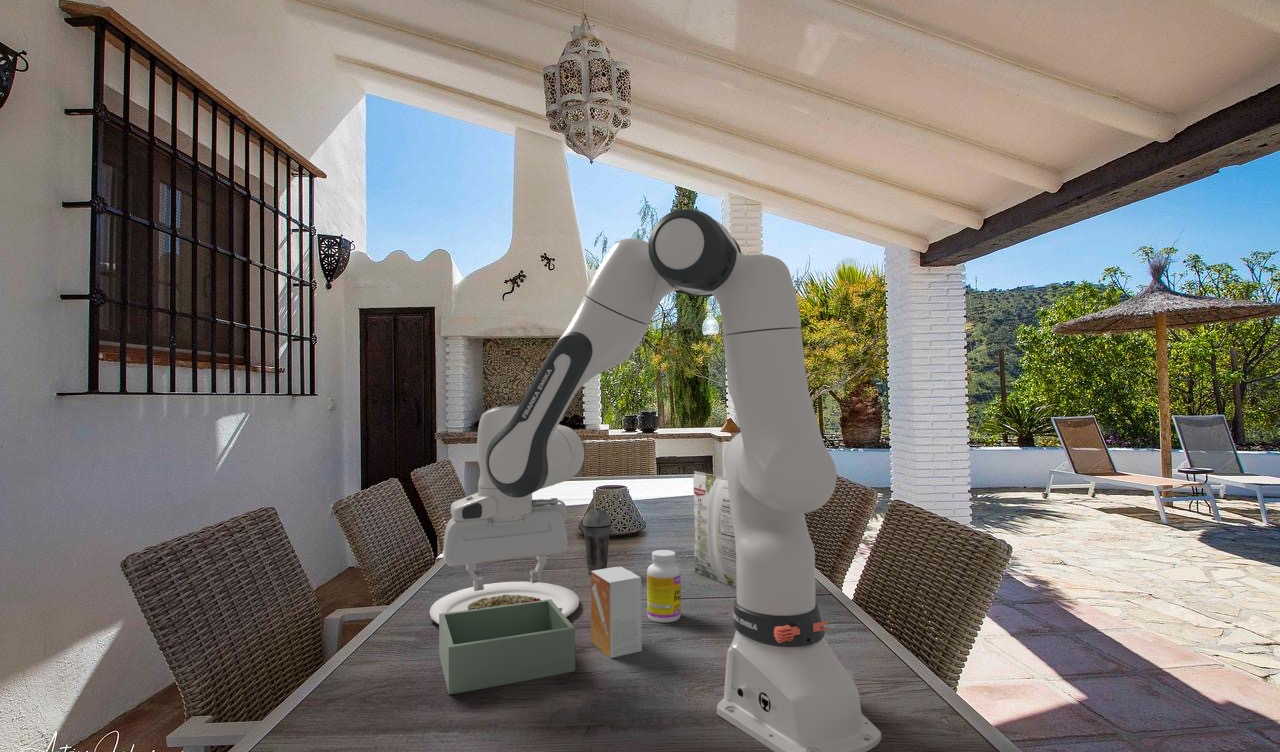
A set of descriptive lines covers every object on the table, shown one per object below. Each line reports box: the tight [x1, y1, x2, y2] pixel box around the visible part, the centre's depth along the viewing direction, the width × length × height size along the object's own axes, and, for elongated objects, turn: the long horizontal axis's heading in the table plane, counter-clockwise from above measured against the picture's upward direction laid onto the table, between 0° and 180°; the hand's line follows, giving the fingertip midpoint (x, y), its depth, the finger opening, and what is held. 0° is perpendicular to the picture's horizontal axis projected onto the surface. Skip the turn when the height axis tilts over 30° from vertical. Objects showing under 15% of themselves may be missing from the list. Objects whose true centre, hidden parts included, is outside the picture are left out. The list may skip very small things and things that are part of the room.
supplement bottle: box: [646, 549, 682, 624], centre depth 129 cm, size 7×7×13 cm
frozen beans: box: [692, 470, 737, 588], centre depth 152 cm, size 21×6×25 cm, turn 32°
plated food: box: [429, 581, 580, 625], centre depth 134 cm, size 30×30×3 cm
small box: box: [590, 566, 643, 659], centre depth 114 cm, size 8×6×13 cm
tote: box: [438, 599, 576, 696], centre depth 108 cm, size 16×20×7 cm
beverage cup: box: [581, 490, 612, 574], centre depth 161 cm, size 7×7×20 cm
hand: (507, 585), depth 108 cm, fingers open, 8 cm apart
